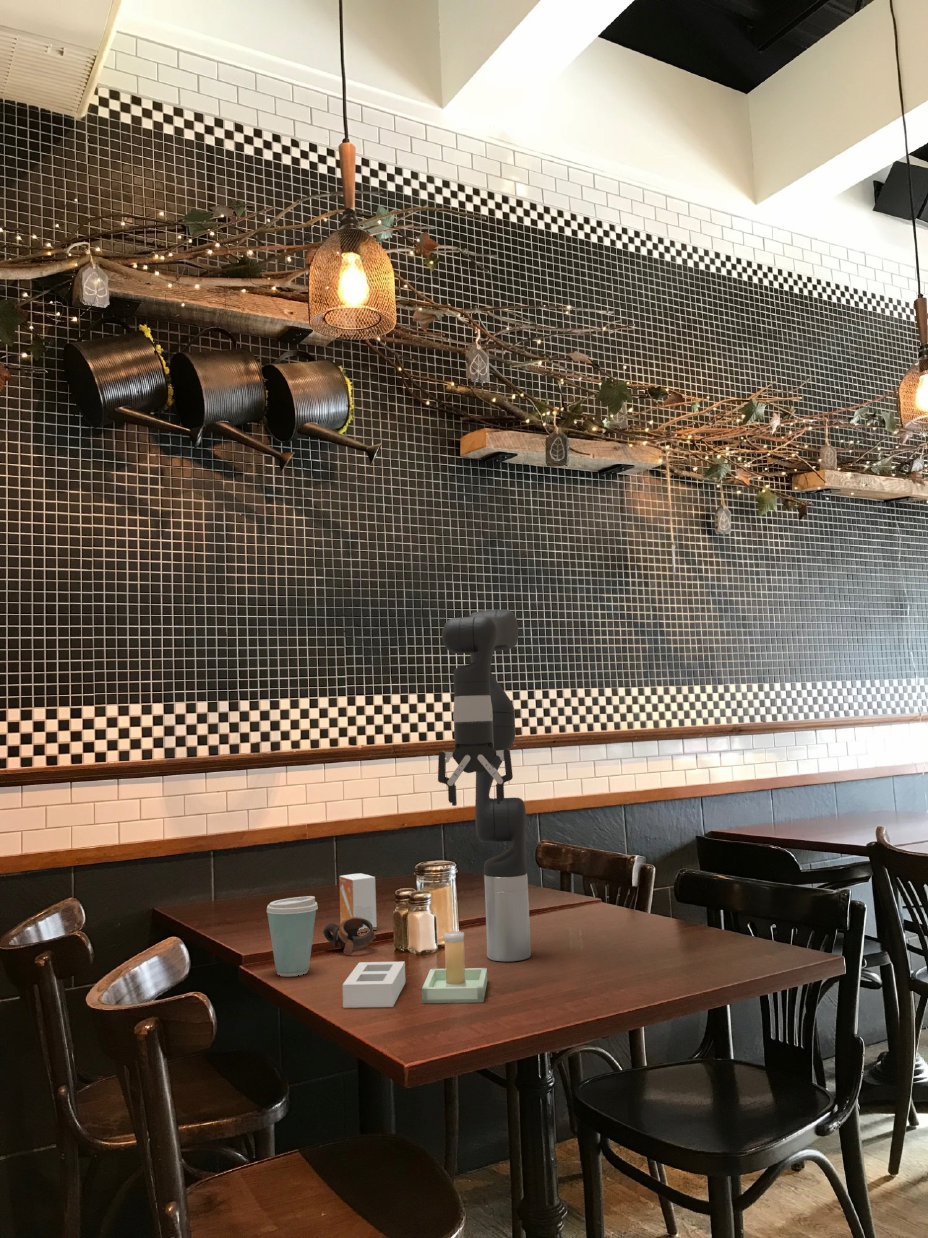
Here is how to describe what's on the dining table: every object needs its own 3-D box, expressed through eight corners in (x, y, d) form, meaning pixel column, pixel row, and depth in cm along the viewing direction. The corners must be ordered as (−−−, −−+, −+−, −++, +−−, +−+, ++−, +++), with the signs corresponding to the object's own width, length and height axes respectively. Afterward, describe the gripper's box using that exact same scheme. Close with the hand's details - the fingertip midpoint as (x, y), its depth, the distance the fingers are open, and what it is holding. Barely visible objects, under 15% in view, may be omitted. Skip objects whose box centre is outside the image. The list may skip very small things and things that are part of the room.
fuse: (446, 986, 185) (444, 931, 186) (467, 985, 185) (464, 931, 186) (444, 991, 181) (442, 936, 182) (465, 991, 181) (463, 935, 182)
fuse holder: (359, 983, 191) (359, 962, 192) (405, 982, 191) (404, 961, 191) (343, 1008, 176) (342, 984, 176) (392, 1007, 175) (392, 984, 175)
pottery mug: (376, 947, 224) (381, 918, 221) (365, 975, 216) (370, 946, 213) (326, 934, 226) (330, 905, 222) (313, 962, 217) (317, 932, 214)
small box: (339, 929, 243) (338, 875, 244) (363, 926, 246) (361, 872, 247) (353, 935, 236) (352, 879, 237) (377, 931, 239) (376, 876, 240)
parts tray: (431, 982, 190) (430, 969, 191) (487, 981, 190) (487, 968, 190) (422, 1003, 176) (421, 989, 177) (483, 1002, 176) (482, 988, 176)
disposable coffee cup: (259, 980, 197) (258, 903, 198) (276, 966, 208) (275, 894, 209) (310, 980, 196) (309, 903, 197) (325, 966, 206) (323, 893, 208)
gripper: (510, 718, 193) (514, 802, 191) (438, 721, 194) (441, 804, 192) (509, 718, 185) (513, 805, 184) (434, 721, 186) (437, 807, 185)
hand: (476, 804), depth 188 cm, fingers open, 8 cm apart
